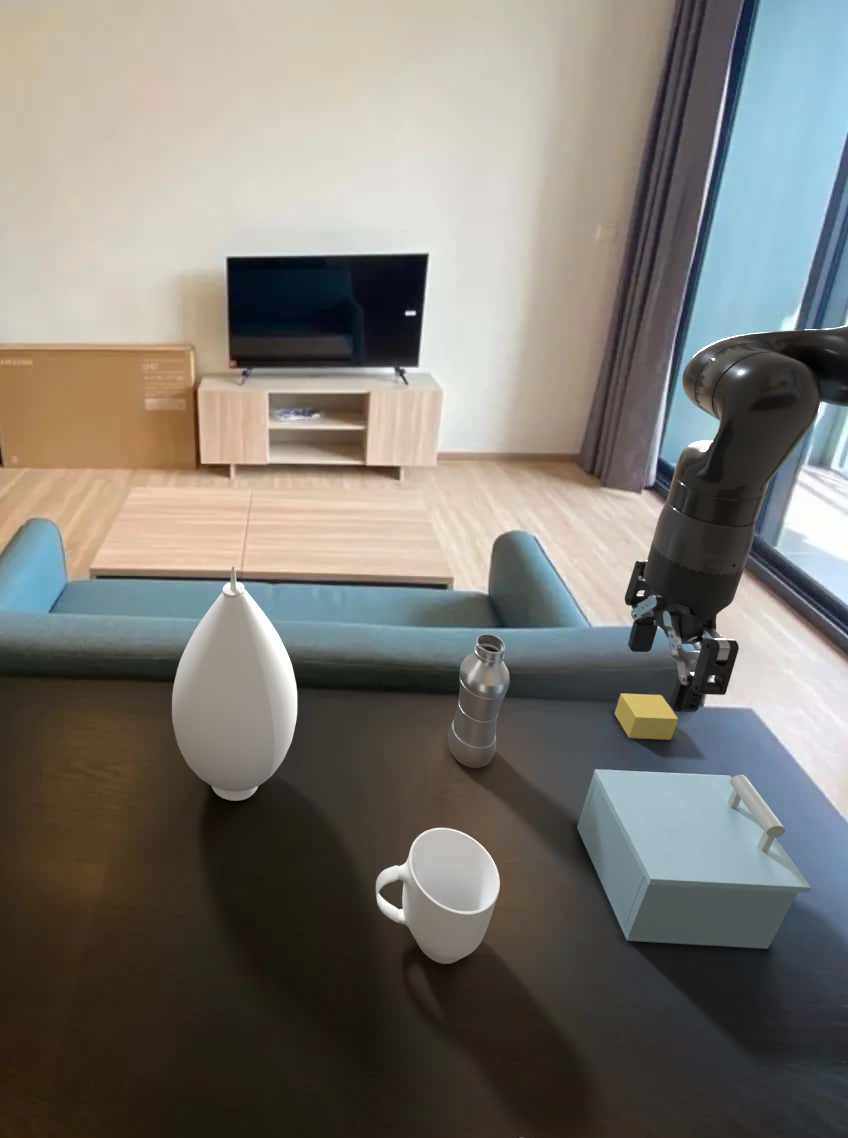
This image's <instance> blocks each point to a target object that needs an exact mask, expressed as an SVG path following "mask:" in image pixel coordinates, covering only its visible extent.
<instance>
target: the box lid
mask: <svg viewBox="0 0 848 1138" xmlns="http://www.w3.org/2000/svg"><path fill="white" fill-rule="evenodd" d="M593 775H594V776H595V778H596V780H597V782H598V784H599V786H600V788H601V790H602V792H603V794H604V796H605V798H606V800H607V801H608V803H609V805H610V807H611V809H612V811H613V813H614V815H615V817H616V819H617V821H618V823H619V825H620V827H621V829H622V831H623V833H624V835H625V837H626V839H627V841H628V843H629V845H630V847H631V849H632V851H633V853H634V855H635V857H636V859H637V861H638V863H639V865H640V867H641V869H642V871H643V873H644V875H645V877H646V879H647V881H648V883H649V884H660V885H679V886H697V887H716V888H735V889H753V890H772V891H790V892H798V893H810V891H811V889H812V887H811V885H810V884H809V882H808V881H807V879H806V878H805V876H804V875H803V874H802V872H801V871H800V870H799V868H798V867H797V866H796V865H795V863H794V861H793V859H791V857H790V856H789V855H788V853H787V852H786V851H785V849H784V848H783V847H782V845H781V844H780V843H779V841H778V839H776V838H779V837H782V836H783V835H784V834H785V833H786V828H785V827H784V825H783V824H782V823H781V821H780V820H779V819H778V817H777V816H776V814H775V813H774V812H773V811H772V809H771V808H770V806H769V805H768V804H767V802H765V800H764V799H763V797H762V796H761V794H760V793H759V792H758V790H757V789H756V788H755V787H754V785H753V784H752V783H751V782H750V780H749V779H748V777H747V776H745V775H744V774H737V775H735V776H733V777H732V776H731V775H723V774H703V773H702V774H700V773H681V772H680V773H679V772H678V773H677V772H660V771H657V772H656V771H638V770H637V771H636V770H618V769H617V770H614V769H597V768H596V769H594V771H593Z"/></svg>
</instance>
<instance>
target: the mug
mask: <svg viewBox="0 0 848 1138" xmlns="http://www.w3.org/2000/svg"><path fill="white" fill-rule="evenodd" d="M398 880H399V881H401V882H403V885H402V892H401V893H402V895H401V903H402V905H401V906H402V908H400V909H399V908H398V907H396V906H395V905H393V904H391V903H389V902H388V901H387V900H385V899H384V897H382V896H381V894H380V891H381V890H382V888H384V887H385V886H386V885H388V884H391V883H394V882H396V881H398ZM500 885H501V880H500V874H499V871H498V867H497V865H496V863H495V861H494V859H493V858H492V856H491V854H490V853H489V852H488V850H486V848H485V847H484V846H483V845H482V844H481V843H480V842H478V841H477V840H476V839H475V838H473V837H471V836H470V835H468V834H467V833H465V832H462V831H461V830H457V829H454V828H449V827H435V828H431V829H430V828H429V829H428V830H425V831H423V832H422V833H420V834H419V835H418V836H416V838H414V841H413V842H412V844H411V846H410V849H409V853H408V857H407V859H406V861H405V862H404V863H403V864H401V865H393V866H390V867H387V868H385V869H384V870H382V871H381V872H380V873H379V874H378V876H377V877H376V881H375V897H376V898H375V899H376V903H377V907H378V909H379V910H380V911H381V913H382V914H383V916H386V918H388V919H390V920H391V921H393V922H395V923H396V924H401V925H404V926H406V927H407V928H408V929H409V932H410V934H411V935H412V937H413V938H414V940H415V942H416V944H417V945H418V948H419V949H420V951H422V953H423V954H424V955H425V956H427V958H429V959H431V960H432V961H434V962H436V963H439V964H444V965H449V964H453V963H456V962H458V961H459V960H461V959H463V958H465V957H466V958H467V956H469V955H471V954H472V953H473V952H474V951H475V950H476V949H478V947H479V946H480V944H481V943H482V942H483V940H484V937H485V935H486V933H487V930H488V927H489V925H490V922H491V919H492V915H493V912H494V909H495V906H496V902H497V900H498V896H499V893H500V888H501V887H500Z"/></svg>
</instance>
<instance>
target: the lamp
mask: <svg viewBox="0 0 848 1138" xmlns="http://www.w3.org/2000/svg"><path fill="white" fill-rule="evenodd" d="M221 591H222V592H221V593H220V594H219V595H218V597H217V598H216V600H215V601H214V602H213V604H212V605H211V606H210V608H209V609H208V610H207V612H206V613H205V614H204V616H203V617H202V619H201V620H200V621H199V623H198V625H197V626H196V628H195V630H194V631H193V632H192V635H191V636H190V638H189V640H188V643H187V645H186V646H185V648H184V651H183V652H182V655H181V657H180V660H179V663H178V666H177V668H176V673H175V678H174V683H173V687H172V695H171V720H172V721H171V722H172V727H173V731H174V736H175V740H176V744H177V746H178V749H179V752H180V753H181V755H182V757H183V759H184V761H185V762H186V764H187V766H188V767H189V769H191V771H192V772H193V773H194V774H195V775H196V776H197V777H198V778H199V779H200V780H202V781H203V782H205V783H206V784H208V785H209V786H211V789H212V790H213V792H214V793H215V794H216V795H217V796H218V797H220V798H222V799H225V800H228V801H234V802H236V801H244V800H247V799H248V798H251V797H252V796H253V795H254V794H255V793H256V791H257V790H258V788H259V786H260V785H262V784H264V783H265V782H266V781H268V779H270V778H271V777H272V776H273V775H274V774H275V773H276V771H277V770H278V769H279V767H280V766H281V764H282V763H283V762H284V759H285V758H286V756H287V753H288V751H289V749H290V746H291V744H292V741H293V738H294V733H295V728H296V723H297V718H298V688H297V681H296V678H295V677H296V676H295V672H294V668H293V664H292V661H291V659H290V656H289V654H288V651H287V649H286V646H285V645H284V643H283V641H282V639H281V637H280V635H279V633H278V632H277V630H276V628H275V626H274V625H273V623H272V622H271V621H270V620H269V618H268V616H267V615H266V614H265V612H264V610H262V608H261V607H260V606H259V604H258V603H257V602H256V601H255V600H254V598H253V596H251V594H249V592H248V591H247V590H246V589H245V585H244V583H242V582H240V581H237V575H236V567H235V565H234V564H233V565H232V566H231V571H230V582H226V583H225V584H224V585H223V586H222V590H221Z"/></svg>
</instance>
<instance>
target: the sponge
mask: <svg viewBox="0 0 848 1138" xmlns="http://www.w3.org/2000/svg"><path fill="white" fill-rule="evenodd" d="M614 715H615V717H616V719H617V720H618V722H619V724H620V725H621V727H622V728H623V730H624V732H625V734H626V736H627V737H628V738H629V739H646V740H668V741H671V740H672V739H673V736H674V733H675V731H676V727H677V724H678V722H679V718H678V716H677V715H676V713H675V711H674V710H673V708H672V707H671V706H670V704H669V703H668V702H667V701H666V699H665V698H664V696H663V695H662V694H646V693H645V694H642V693H620V694H619V697H618V701H617V704H616V707H615V710H614Z"/></svg>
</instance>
